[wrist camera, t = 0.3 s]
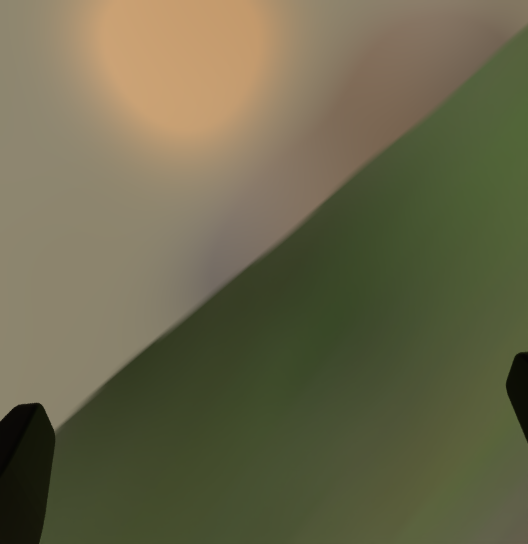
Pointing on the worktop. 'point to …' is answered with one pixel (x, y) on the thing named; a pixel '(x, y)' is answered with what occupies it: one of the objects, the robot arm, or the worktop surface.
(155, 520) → the worktop surface
